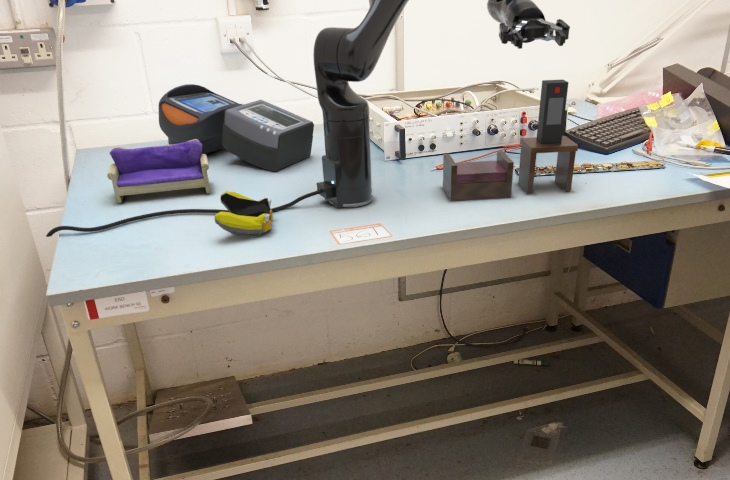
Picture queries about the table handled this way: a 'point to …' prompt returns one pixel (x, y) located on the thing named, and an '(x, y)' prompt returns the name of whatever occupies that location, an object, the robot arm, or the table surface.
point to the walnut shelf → (533, 147)
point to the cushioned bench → (476, 187)
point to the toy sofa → (158, 169)
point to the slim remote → (552, 111)
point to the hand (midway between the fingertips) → (541, 42)
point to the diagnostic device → (235, 127)
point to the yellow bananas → (244, 214)
